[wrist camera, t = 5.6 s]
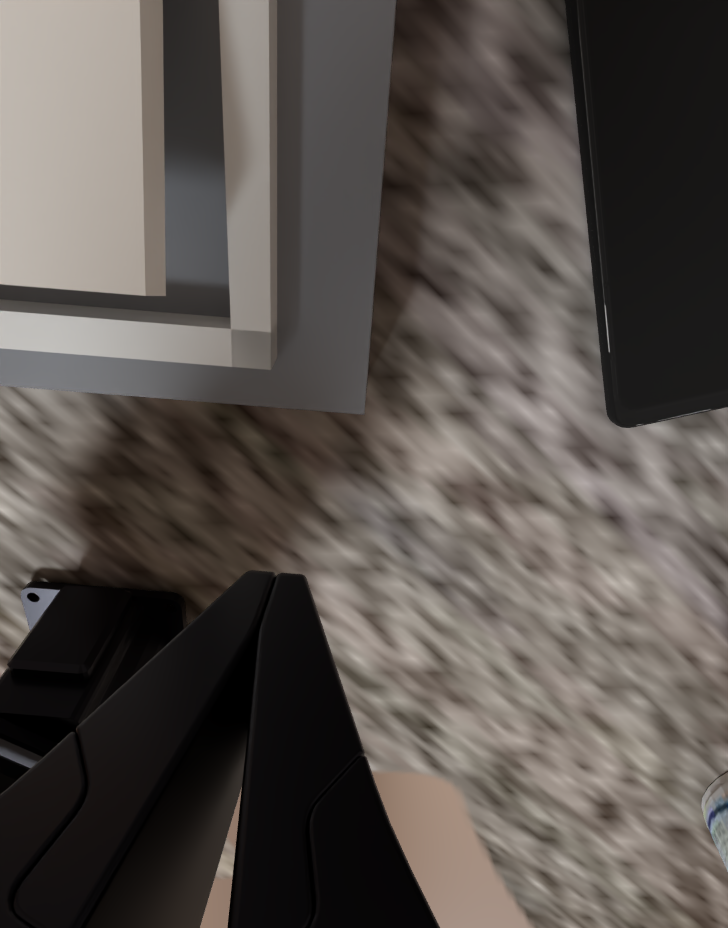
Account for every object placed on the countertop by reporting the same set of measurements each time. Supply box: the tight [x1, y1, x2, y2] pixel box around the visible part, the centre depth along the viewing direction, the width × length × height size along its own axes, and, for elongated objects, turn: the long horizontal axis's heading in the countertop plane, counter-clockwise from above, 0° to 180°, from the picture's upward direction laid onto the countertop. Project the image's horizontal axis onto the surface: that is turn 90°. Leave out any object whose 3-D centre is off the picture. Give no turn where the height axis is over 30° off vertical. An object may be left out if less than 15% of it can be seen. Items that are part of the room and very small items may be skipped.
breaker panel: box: [0, 0, 397, 415], centre depth 14 cm, size 17×15×4 cm
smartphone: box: [565, 0, 728, 428], centre depth 17 cm, size 7×1×15 cm
